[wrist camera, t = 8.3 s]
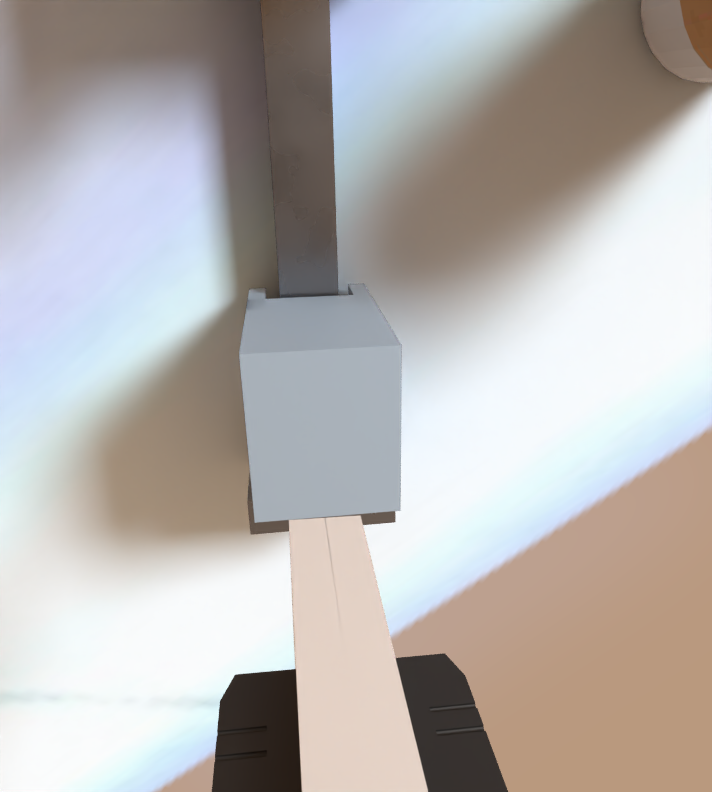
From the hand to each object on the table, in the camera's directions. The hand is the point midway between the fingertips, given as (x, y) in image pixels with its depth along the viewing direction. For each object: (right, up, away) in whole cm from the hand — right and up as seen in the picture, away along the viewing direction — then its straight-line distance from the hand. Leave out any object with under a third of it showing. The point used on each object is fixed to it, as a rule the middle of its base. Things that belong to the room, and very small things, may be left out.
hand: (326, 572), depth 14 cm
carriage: (-2, +6, +16) cm, 17 cm away
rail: (-2, +11, +14) cm, 18 cm away
